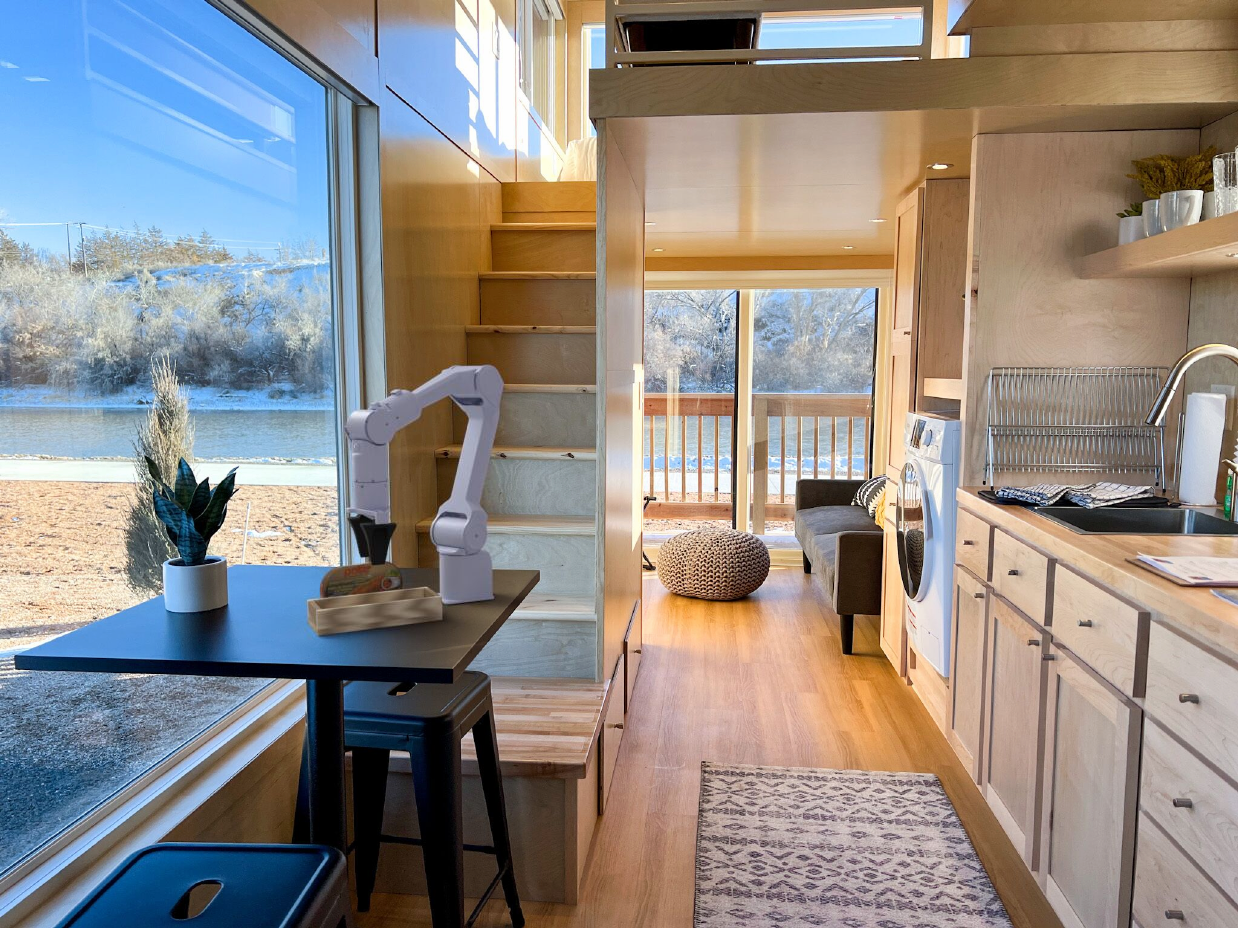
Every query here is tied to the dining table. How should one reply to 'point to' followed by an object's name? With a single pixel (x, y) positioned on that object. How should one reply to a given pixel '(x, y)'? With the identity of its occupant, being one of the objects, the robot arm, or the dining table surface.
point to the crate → (373, 610)
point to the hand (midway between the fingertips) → (372, 560)
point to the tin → (361, 579)
